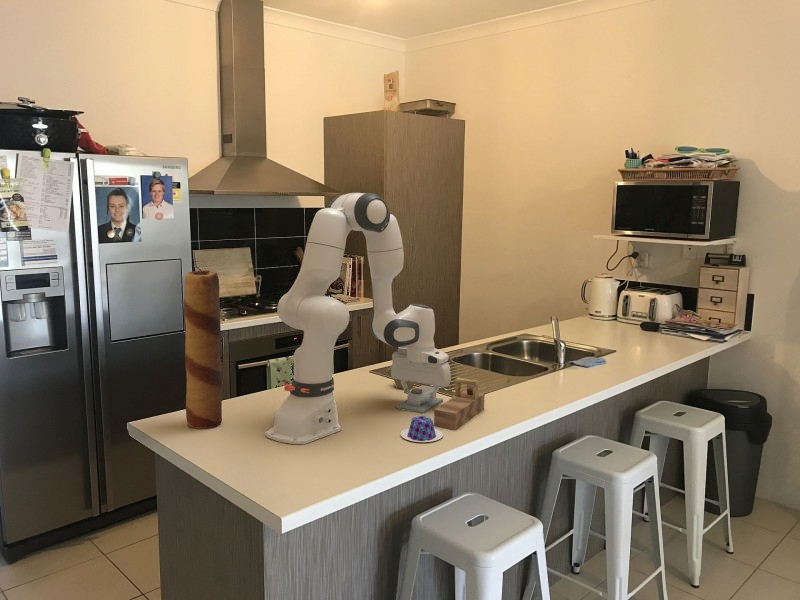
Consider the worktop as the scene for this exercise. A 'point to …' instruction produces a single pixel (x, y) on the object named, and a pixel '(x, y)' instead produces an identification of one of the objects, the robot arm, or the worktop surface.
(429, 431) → the pudding
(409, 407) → the rubber mat
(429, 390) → the lever cap
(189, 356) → the wafer roll
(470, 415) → the brown stand
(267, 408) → the worktop surface
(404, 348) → the squeeze bottle
